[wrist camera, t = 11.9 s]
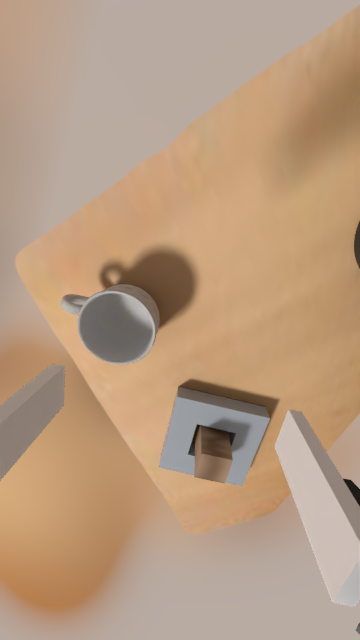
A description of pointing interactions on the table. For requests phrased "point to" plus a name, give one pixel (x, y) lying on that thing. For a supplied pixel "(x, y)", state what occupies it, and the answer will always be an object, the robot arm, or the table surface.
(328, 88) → the table surface
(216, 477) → the peg
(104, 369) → the table surface
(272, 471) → the table surface
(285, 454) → the robot arm
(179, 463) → the housing
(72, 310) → the teacup
